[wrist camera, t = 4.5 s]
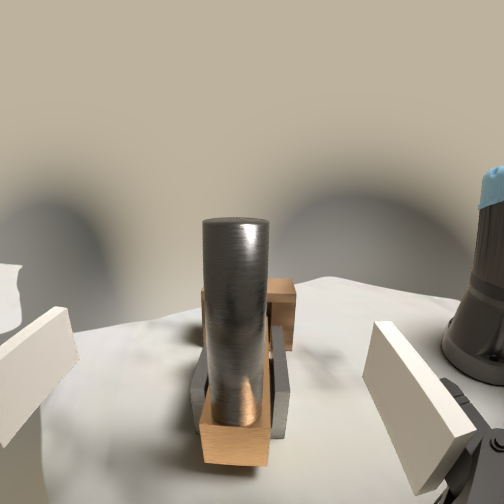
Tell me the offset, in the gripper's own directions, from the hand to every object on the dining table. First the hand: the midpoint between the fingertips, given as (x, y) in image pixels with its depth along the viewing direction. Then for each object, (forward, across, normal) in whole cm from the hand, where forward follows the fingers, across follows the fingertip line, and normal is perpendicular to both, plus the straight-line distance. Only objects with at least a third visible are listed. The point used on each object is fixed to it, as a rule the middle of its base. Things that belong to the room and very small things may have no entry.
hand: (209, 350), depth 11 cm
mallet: (+9, +1, -10) cm, 14 cm away
